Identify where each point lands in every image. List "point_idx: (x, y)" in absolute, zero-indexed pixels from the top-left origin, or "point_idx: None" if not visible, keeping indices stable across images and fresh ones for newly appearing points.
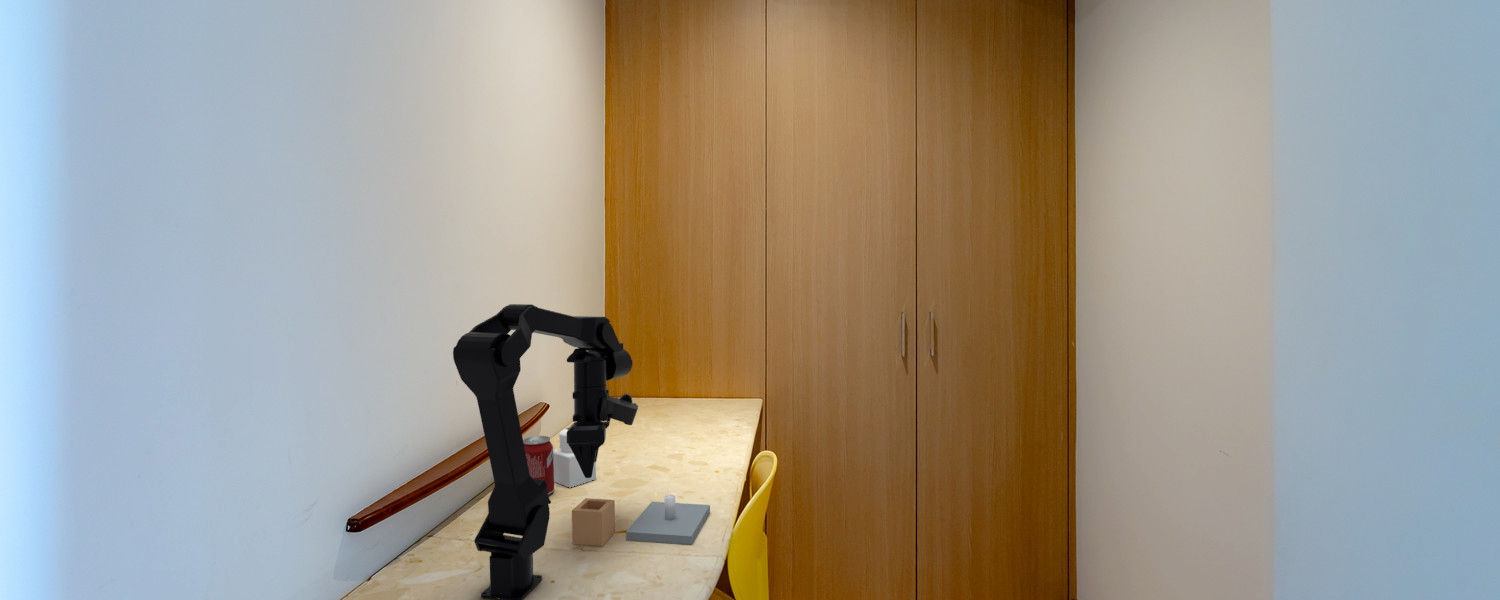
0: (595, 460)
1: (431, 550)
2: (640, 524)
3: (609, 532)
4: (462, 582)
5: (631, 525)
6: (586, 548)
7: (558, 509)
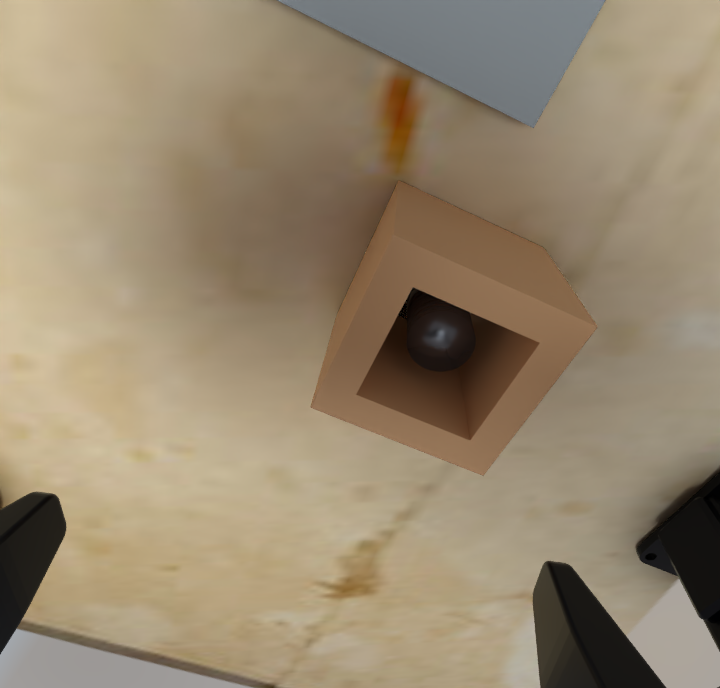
0: (45, 508)
1: (367, 681)
2: (455, 17)
3: (467, 220)
4: None
5: (450, 85)
6: None
7: (91, 417)
